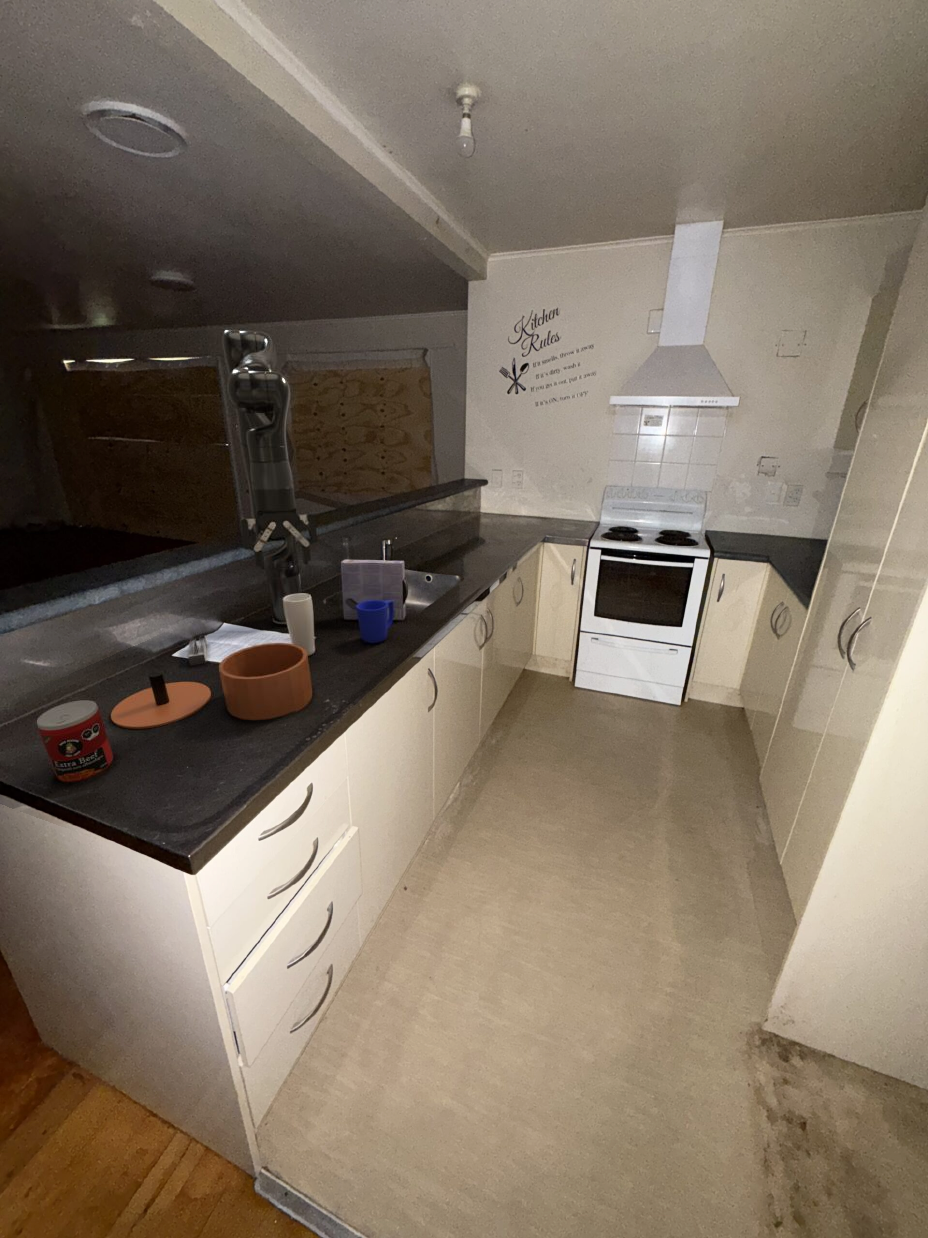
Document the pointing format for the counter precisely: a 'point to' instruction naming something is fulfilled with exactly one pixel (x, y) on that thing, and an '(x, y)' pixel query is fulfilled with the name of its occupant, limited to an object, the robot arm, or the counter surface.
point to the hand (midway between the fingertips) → (284, 565)
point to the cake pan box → (373, 585)
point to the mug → (374, 619)
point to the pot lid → (160, 703)
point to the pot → (266, 681)
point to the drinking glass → (300, 620)
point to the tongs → (192, 654)
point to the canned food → (75, 740)
